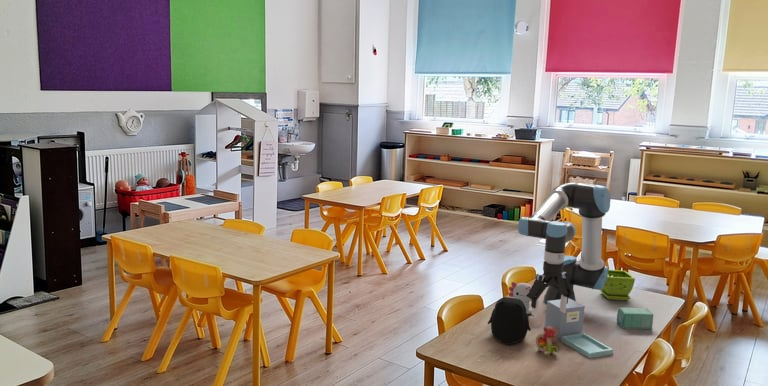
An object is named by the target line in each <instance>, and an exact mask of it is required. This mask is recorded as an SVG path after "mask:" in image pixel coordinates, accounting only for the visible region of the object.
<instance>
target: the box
mask: <svg viewBox="0 0 768 386" xmlns="http://www.w3.org/2000/svg"><path fill="white" fill-rule="evenodd" d="M616 323H617V324H618V325H619V324H620V325H621V326H622V327H621V326H620V325H619V326H620V327H621V328H623V329H627V328H630V330H631V328H633V329H634V330H635V329H636V330H638V329H639V330H652V329H653V323H654V313H653V312H652V311H650V310H649V309H648V308H647V307H642V308H641V307H618V310H617V314H616ZM633 329H632V330H633Z"/></svg>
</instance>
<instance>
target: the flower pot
mask: <svg viewBox="0 0 768 386" xmlns="http://www.w3.org/2000/svg"><path fill="white" fill-rule="evenodd" d="M635 281H636V278H635V277H634V276H633V275H631V274H630V273H629V272H627V271H626V270H618V269H609V270H608V275H607V279H606V282H605V285H604V287H603V288H602V289H601V290H599V291H600V292H601V294H603V296H604V297H605V298H606V299H608V300H610V301H611V300H612V301H625V300H626V301H628V300H630V299H631V296H630V293H631V292H632V291H633V288H634V285H635Z"/></svg>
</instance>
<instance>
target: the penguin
mask: <svg viewBox="0 0 768 386" xmlns="http://www.w3.org/2000/svg"><path fill="white" fill-rule="evenodd" d="M487 324H488V325H489V324H490V327H491V328H490V329H491V334H492V335H493V337H494V338H495V339H496V340H498V341H499V342H500V343H501V344H502V345H508V346H509V345H511V344H514V343H518V342H520V341H522V340H524V339H526V337H527V333H528V331H529V332H531V330H532V329H531V325H530V319H529V314H527V313H526V307H525V304H524V303H523V302H522V301H521V300H520V299H516V298H514V297H510V296H509V297H507V296H503V297H502V298H499V299H498V300H497V301H496V303H495V305H494V308H493V309H492V311H491V315H490V317H489V319H488V322H487Z"/></svg>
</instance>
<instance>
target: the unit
mask: <svg viewBox="0 0 768 386" xmlns="http://www.w3.org/2000/svg"><path fill="white" fill-rule="evenodd" d="M560 302H561V299H560V300H552V301H547V303H546V307H545V308H546V309H545V318H544V319H545V321H544V327H547V326H553V327H556V328H558V336H557V339H561V336H568V335H575V334H581V333H583V325H584V315H585V309H586V308H585V305H583V304H581V303H579V302H578V301H576V302H575V301H574V300H572V299H570V298H568V303H567V304H566V313H563V312H561V311H560Z"/></svg>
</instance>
